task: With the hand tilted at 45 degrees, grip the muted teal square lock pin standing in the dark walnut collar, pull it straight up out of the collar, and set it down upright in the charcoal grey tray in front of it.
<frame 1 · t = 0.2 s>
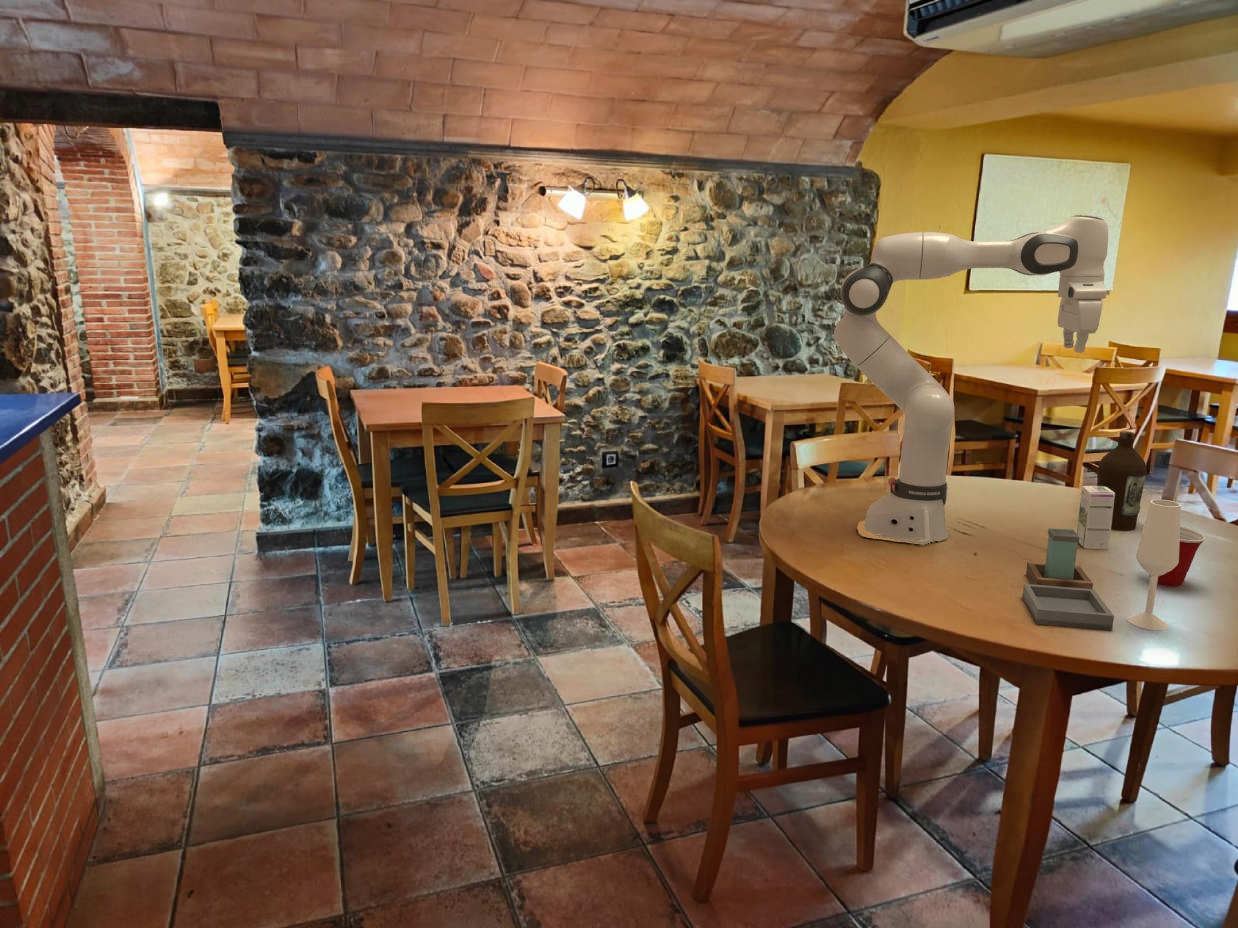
hand: (1073, 350, 184), 48 cm above the table, tool pointing down, fingers open, 8 cm apart
walnut collar: (1057, 585, 170), on the table
olive oil: (1114, 526, 208), on the table
champagne flute: (1147, 623, 152), on the table
grey tray: (1064, 613, 157), on the table
lock pin: (1060, 559, 169), in the walnut collar
plastic cup: (1167, 583, 171), on the table
syrup box: (1091, 546, 194), on the table
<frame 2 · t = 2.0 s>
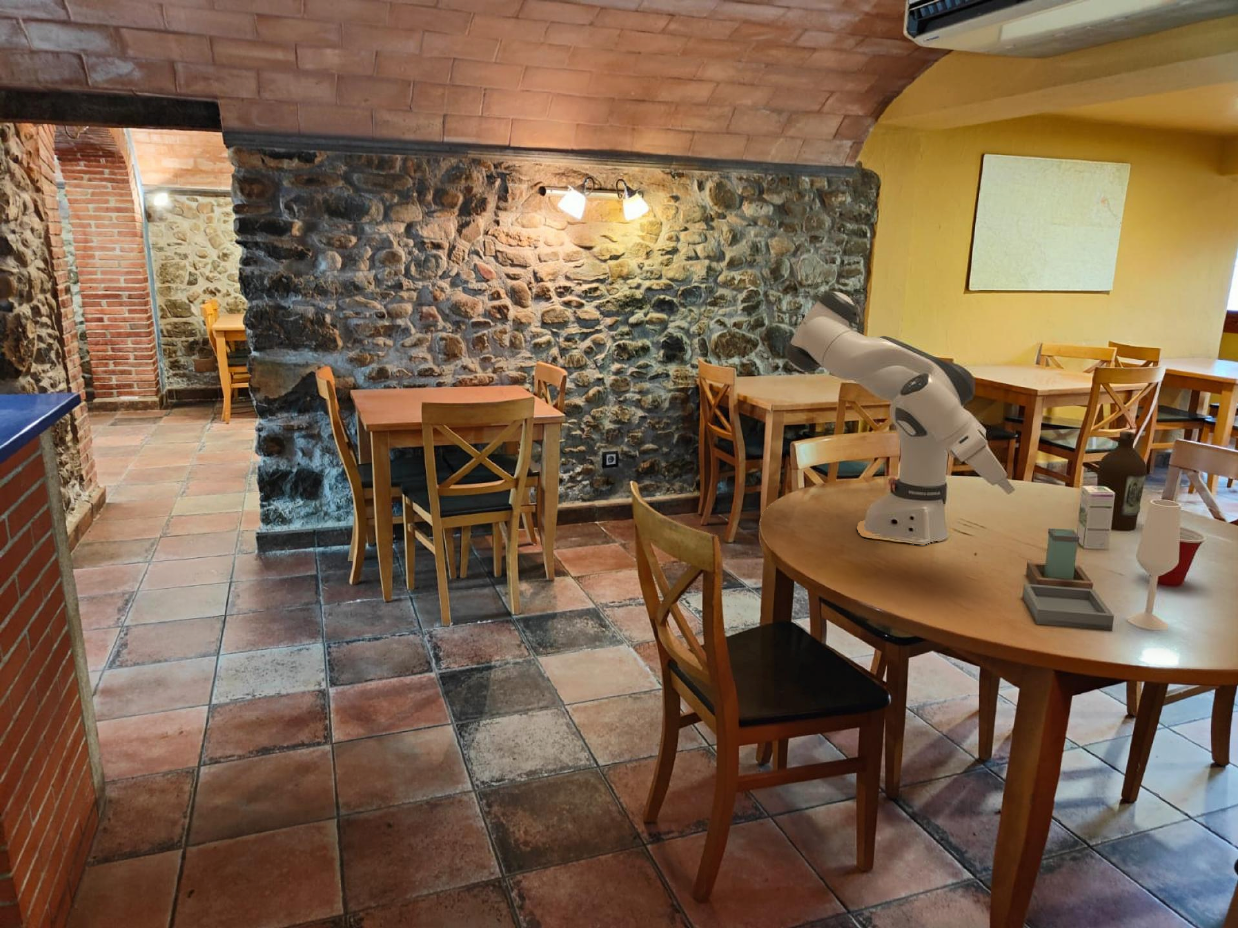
hand: (1006, 485, 168), 22 cm above the table, tool tilted 45°, fingers open, 8 cm apart
nothing on the table moved.
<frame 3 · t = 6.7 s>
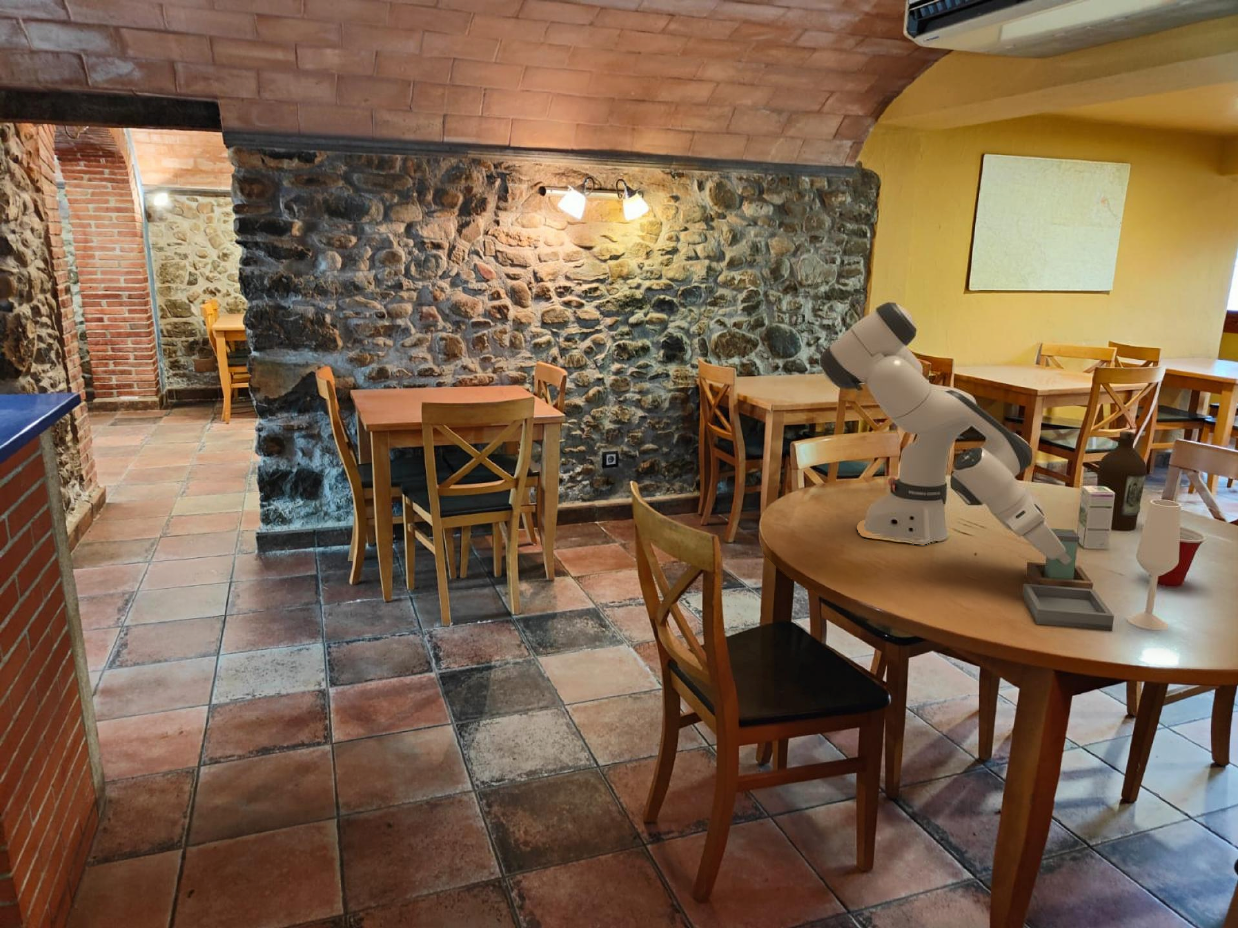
hand: (1064, 556, 169), 7 cm above the table, tool tilted 45°, fingers closed on lock pin, 4 cm apart
lock pin: (1060, 559, 169), in the walnut collar, touching gripper
everything else where it was.
when the fingers open (9 cm above the table, at t = 15.5 s): lock pin drops 1 cm, resting on grey tray.
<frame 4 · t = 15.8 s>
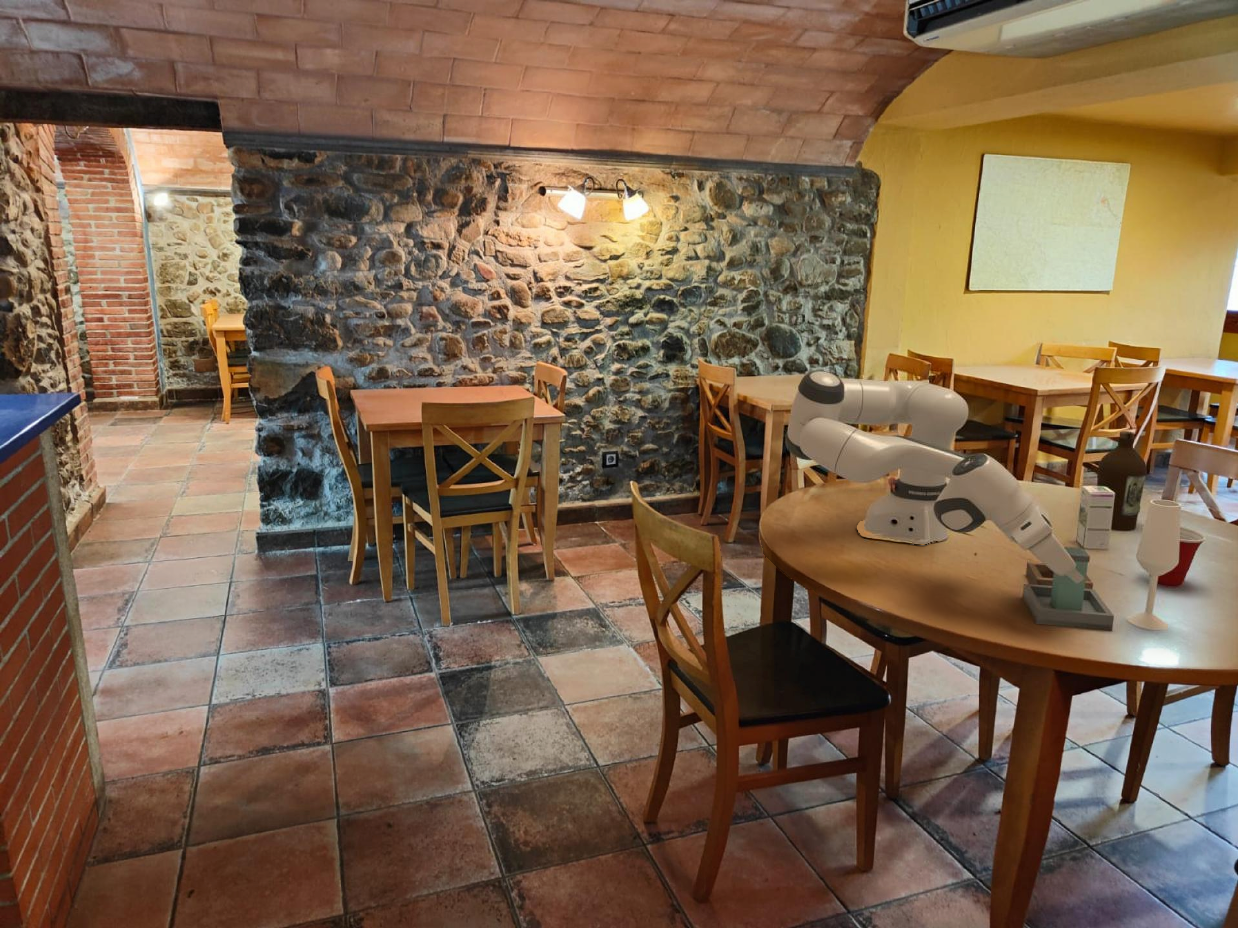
hand: (1073, 571, 155), 9 cm above the table, tool tilted 45°, fingers open, 8 cm apart
lock pin: (1069, 580, 155), in the grey tray, point 7 cm above the table
everything else where it was.
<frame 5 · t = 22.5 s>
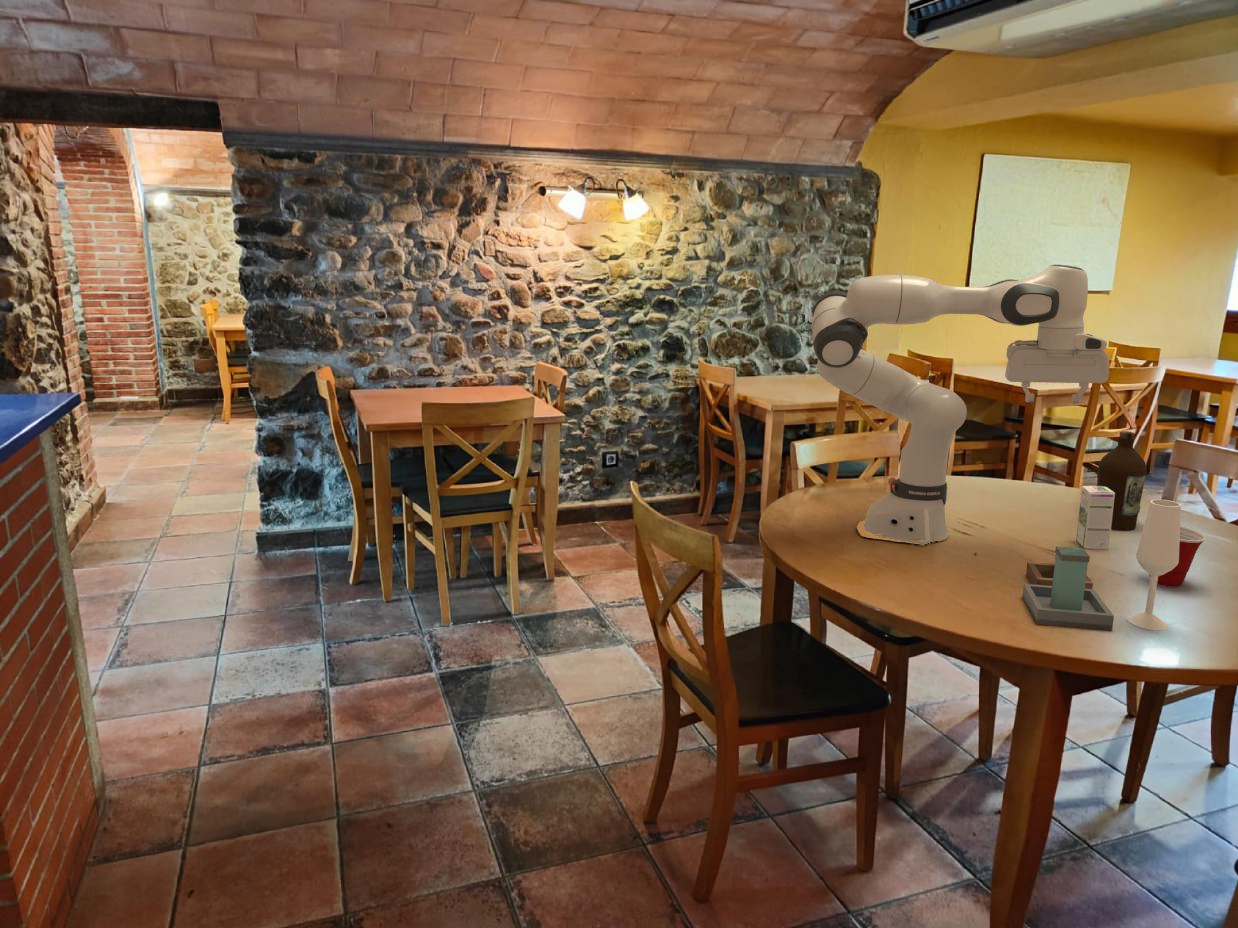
hand: (1052, 402, 177), 37 cm above the table, tool pointing down, fingers open, 8 cm apart
nothing on the table moved.
at the end: lock pin inside the target area on the grey tray (0.0 cm from its centre), point 7.0 cm above the grey tray's base; lock pin tilted 0°; the gripper is holding nothing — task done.
